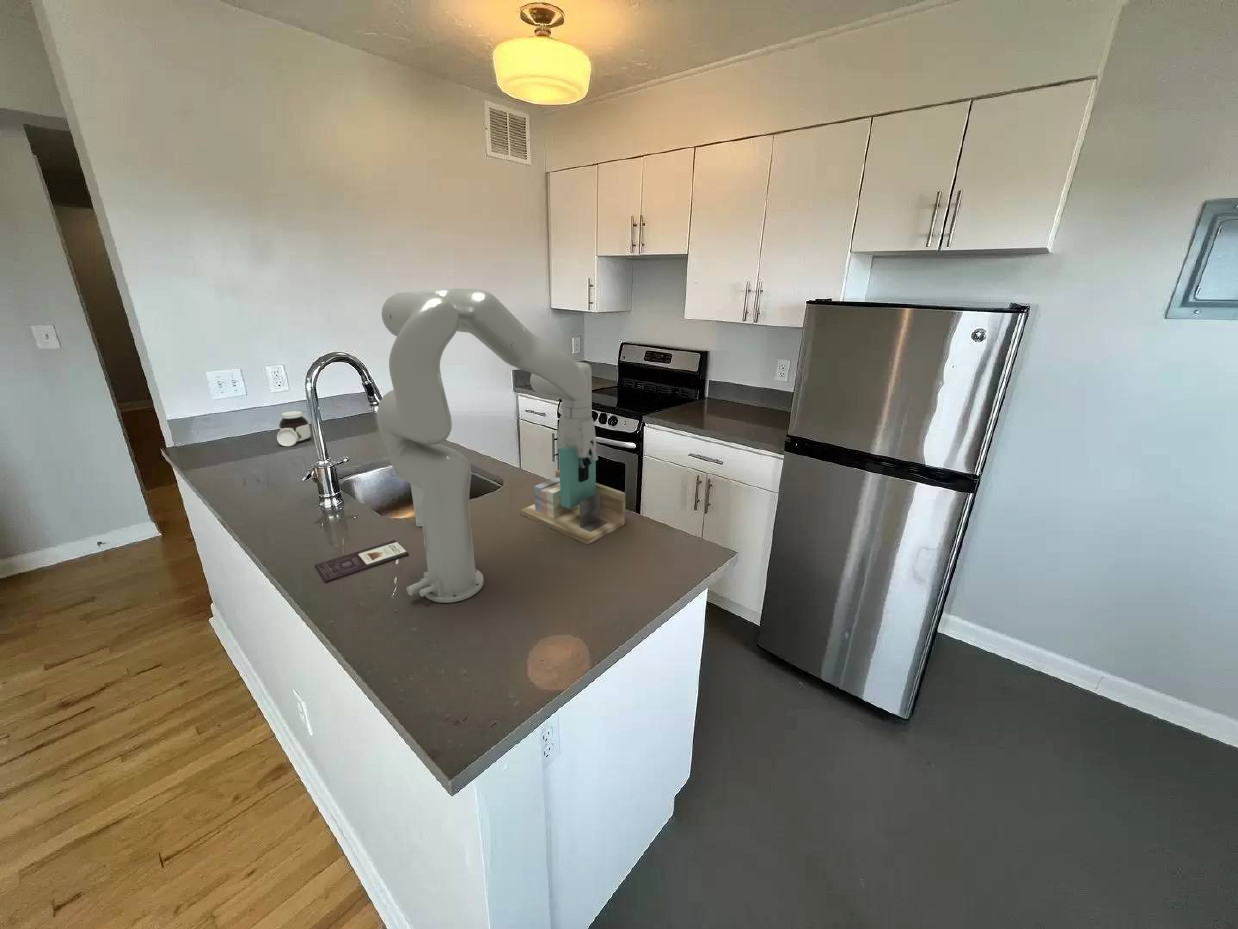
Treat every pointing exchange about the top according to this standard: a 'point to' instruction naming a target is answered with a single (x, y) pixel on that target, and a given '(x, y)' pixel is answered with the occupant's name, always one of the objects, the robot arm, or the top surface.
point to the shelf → (578, 511)
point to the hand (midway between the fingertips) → (578, 477)
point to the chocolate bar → (360, 561)
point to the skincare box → (417, 502)
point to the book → (574, 479)
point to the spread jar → (293, 429)
